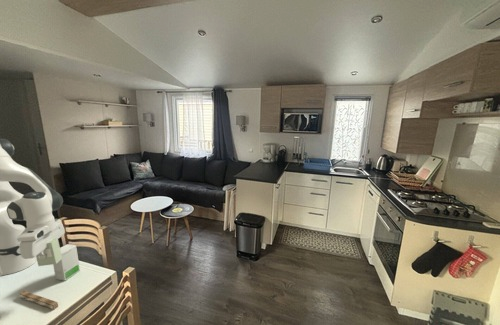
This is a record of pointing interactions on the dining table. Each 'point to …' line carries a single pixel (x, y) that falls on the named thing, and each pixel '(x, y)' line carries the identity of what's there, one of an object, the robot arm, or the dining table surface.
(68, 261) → the skincare box
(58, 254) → the sage tea box
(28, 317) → the dining table surface
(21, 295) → the rail
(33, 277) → the dining table surface
